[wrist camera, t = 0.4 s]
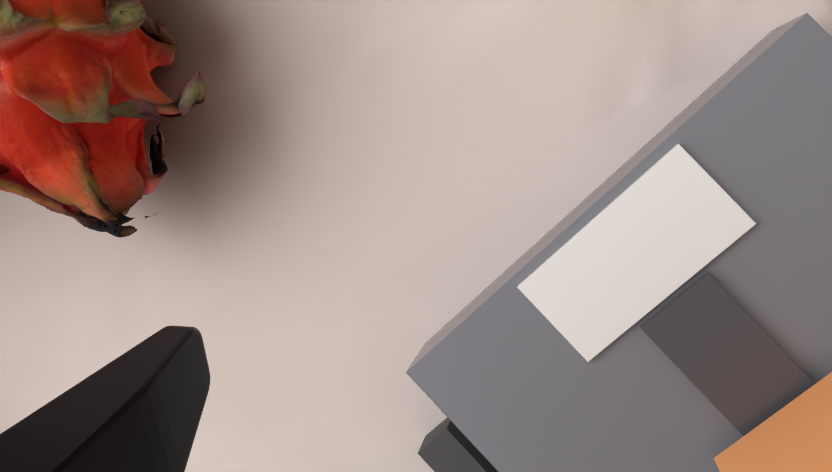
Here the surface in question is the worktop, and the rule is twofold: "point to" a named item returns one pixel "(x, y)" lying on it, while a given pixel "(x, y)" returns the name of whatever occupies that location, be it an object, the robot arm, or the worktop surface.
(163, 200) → the worktop surface
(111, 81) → the dragon fruit
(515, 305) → the panel
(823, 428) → the orange rectangular block
